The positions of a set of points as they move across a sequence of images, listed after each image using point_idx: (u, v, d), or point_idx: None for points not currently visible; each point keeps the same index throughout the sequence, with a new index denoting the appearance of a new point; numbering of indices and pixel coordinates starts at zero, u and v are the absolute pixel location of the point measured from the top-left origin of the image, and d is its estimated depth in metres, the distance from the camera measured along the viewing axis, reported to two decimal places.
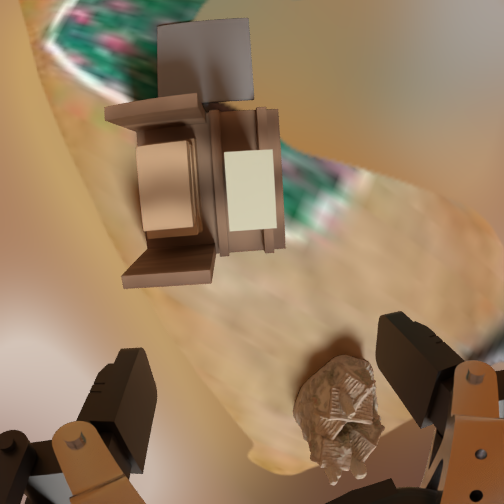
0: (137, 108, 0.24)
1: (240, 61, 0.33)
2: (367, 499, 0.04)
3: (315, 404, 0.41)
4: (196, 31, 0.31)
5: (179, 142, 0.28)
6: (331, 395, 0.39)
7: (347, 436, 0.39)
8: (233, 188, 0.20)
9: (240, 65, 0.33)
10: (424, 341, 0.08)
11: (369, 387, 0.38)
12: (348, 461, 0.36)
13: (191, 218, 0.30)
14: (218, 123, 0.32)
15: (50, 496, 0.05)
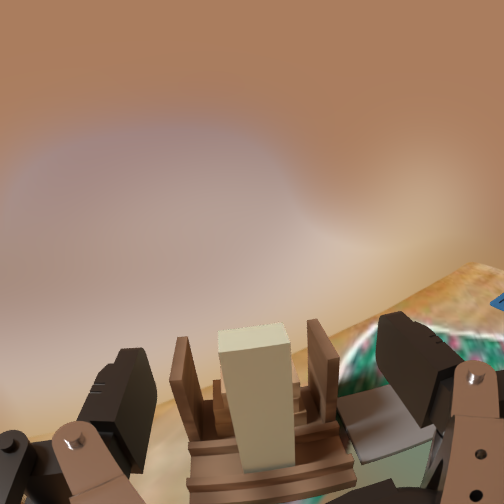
0: (318, 332, 0.33)
1: (399, 440, 0.28)
2: (367, 499, 0.04)
3: None
4: None
5: (297, 378, 0.31)
6: None
7: None
8: (253, 329, 0.24)
9: (394, 442, 0.28)
10: (424, 341, 0.08)
11: None
12: None
13: None
14: (325, 429, 0.30)
15: (50, 496, 0.05)
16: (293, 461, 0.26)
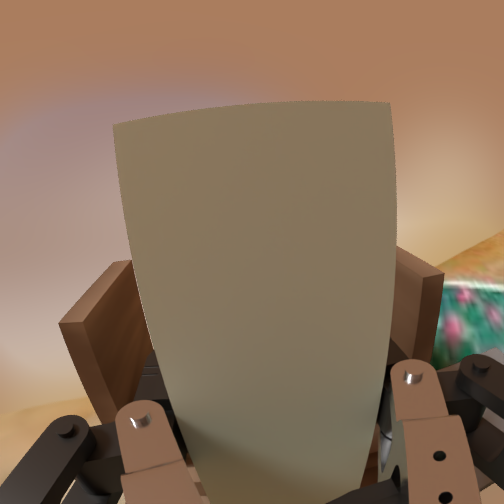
0: None
1: None
2: (367, 499, 0.04)
3: None
4: None
5: None
6: None
7: None
8: None
9: None
10: None
11: None
12: None
13: None
14: None
15: (108, 482, 0.06)
16: None
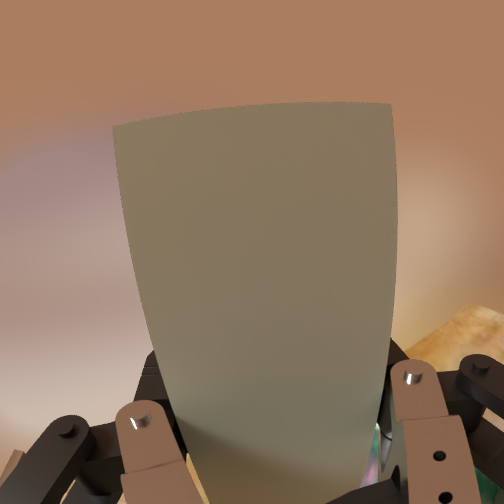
0: None
1: None
2: (366, 499, 0.04)
3: None
4: None
5: None
6: None
7: None
8: None
9: None
10: None
11: None
12: None
13: None
14: None
15: (108, 482, 0.06)
16: None
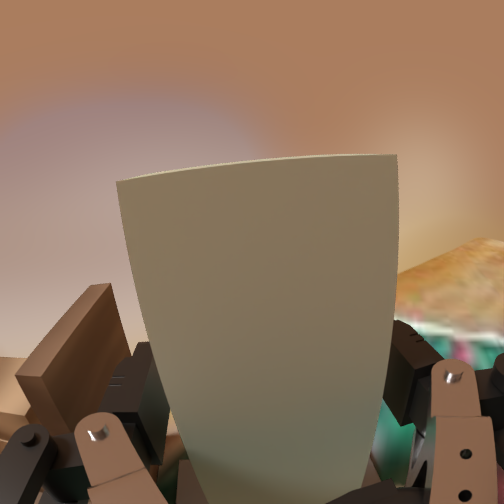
0: (77, 309, 0.13)
1: None
2: (367, 499, 0.04)
3: None
4: None
5: (28, 406, 0.11)
6: None
7: None
8: None
9: None
10: (403, 339, 0.08)
11: None
12: None
13: None
14: None
15: (70, 490, 0.05)
16: None
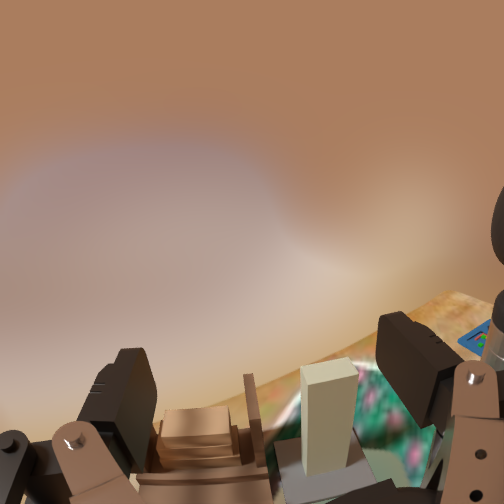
0: (249, 389, 0.35)
1: (326, 489, 0.30)
2: (367, 499, 0.04)
3: None
4: (350, 452, 0.35)
5: (228, 429, 0.33)
6: None
7: None
8: (327, 363, 0.30)
9: (321, 490, 0.30)
10: (424, 341, 0.08)
11: None
12: None
13: (167, 436, 0.32)
14: (254, 473, 0.31)
15: (50, 497, 0.05)
16: (345, 460, 0.32)
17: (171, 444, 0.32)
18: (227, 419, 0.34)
